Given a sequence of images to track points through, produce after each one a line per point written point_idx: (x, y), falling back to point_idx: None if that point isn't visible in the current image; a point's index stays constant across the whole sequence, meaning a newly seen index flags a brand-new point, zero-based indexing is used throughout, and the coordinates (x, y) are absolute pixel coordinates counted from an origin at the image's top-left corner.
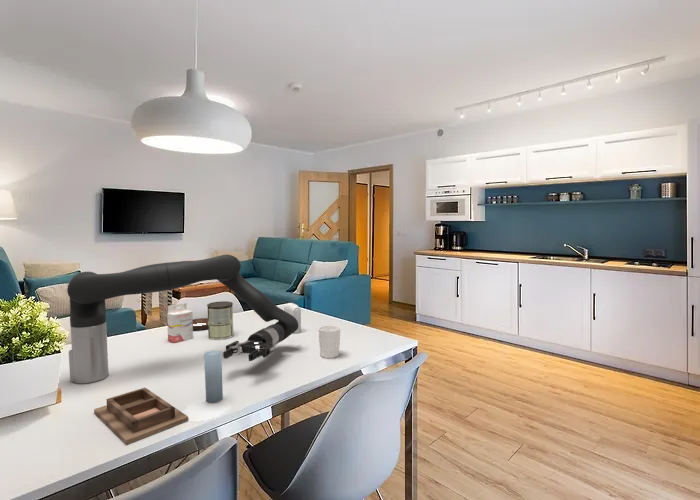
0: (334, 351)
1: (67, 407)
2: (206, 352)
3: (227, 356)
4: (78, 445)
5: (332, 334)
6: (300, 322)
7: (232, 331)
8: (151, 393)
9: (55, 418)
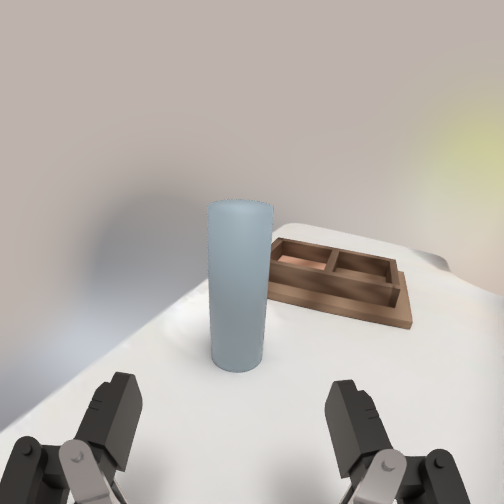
0: None
1: (446, 278)
2: (268, 206)
3: (330, 418)
4: None
5: None
6: None
7: None
8: (356, 278)
9: (419, 265)
